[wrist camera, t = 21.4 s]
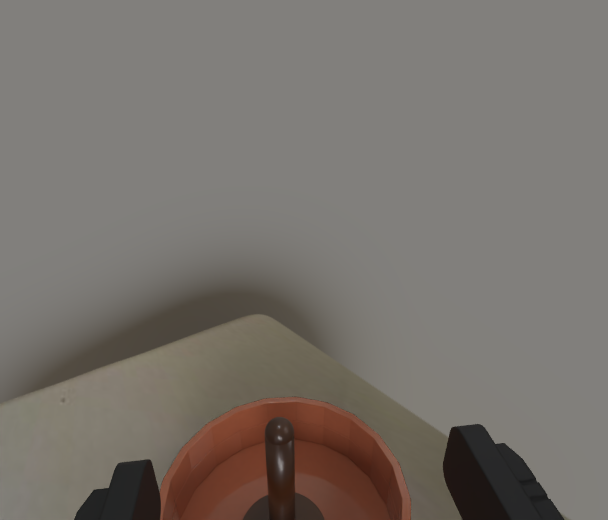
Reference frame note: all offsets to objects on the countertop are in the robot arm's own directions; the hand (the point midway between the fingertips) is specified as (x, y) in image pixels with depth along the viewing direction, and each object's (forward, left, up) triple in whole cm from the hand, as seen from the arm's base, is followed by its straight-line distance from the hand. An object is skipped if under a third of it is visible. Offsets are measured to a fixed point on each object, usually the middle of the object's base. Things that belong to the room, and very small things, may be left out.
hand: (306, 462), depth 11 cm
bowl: (-3, -11, -23) cm, 25 cm away
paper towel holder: (-2, -10, -22) cm, 24 cm away
